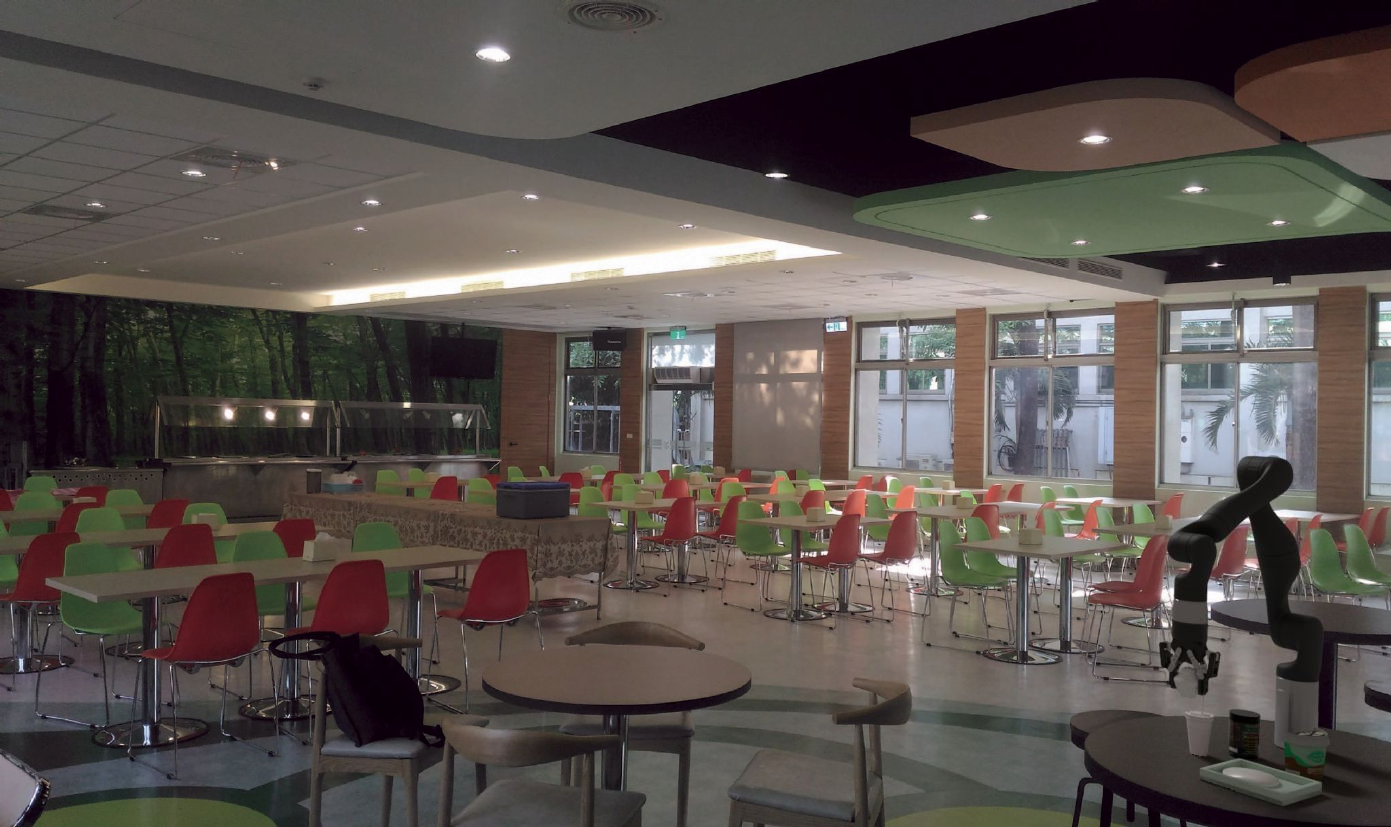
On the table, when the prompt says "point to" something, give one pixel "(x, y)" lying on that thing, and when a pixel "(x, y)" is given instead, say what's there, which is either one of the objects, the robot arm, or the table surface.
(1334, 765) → the table surface
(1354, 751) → the table surface
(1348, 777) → the table surface
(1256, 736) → the supplement container
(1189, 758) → the table surface
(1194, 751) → the smoothie
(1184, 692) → the muffin
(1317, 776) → the food container
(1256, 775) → the tray
